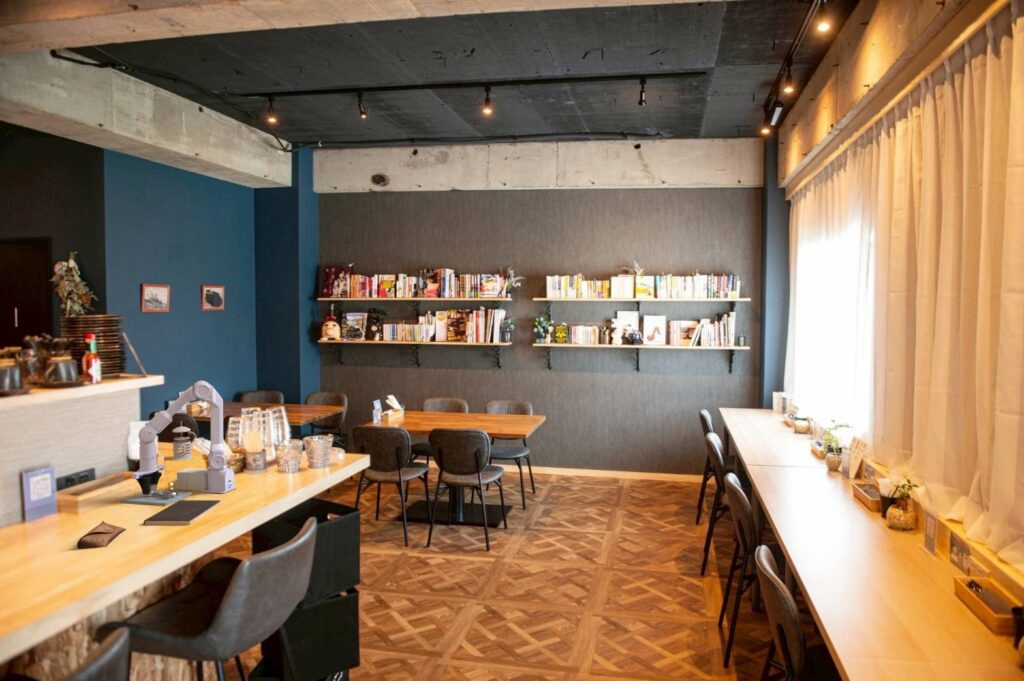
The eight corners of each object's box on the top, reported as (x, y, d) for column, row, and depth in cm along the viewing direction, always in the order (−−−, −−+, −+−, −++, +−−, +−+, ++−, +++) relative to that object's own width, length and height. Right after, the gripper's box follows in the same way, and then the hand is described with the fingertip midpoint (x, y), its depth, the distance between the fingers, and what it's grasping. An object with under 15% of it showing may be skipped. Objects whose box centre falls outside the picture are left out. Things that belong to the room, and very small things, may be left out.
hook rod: (178, 496, 265) (177, 485, 265) (172, 498, 262) (172, 487, 262) (148, 493, 268) (147, 483, 268) (142, 496, 265) (141, 485, 265)
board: (191, 495, 270) (191, 492, 270) (165, 505, 256) (165, 503, 256) (147, 492, 274) (147, 489, 274) (120, 502, 261) (119, 499, 261)
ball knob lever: (167, 490, 263) (167, 483, 262) (174, 485, 269) (173, 479, 269) (172, 490, 263) (171, 483, 263) (178, 485, 269) (178, 479, 269)
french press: (167, 458, 333) (165, 406, 332) (191, 454, 342) (189, 404, 341) (176, 461, 327) (174, 408, 326) (201, 457, 336) (199, 405, 334)
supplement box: (189, 484, 285) (216, 486, 283) (176, 489, 278) (204, 491, 275) (188, 467, 285) (216, 468, 282) (176, 471, 278) (204, 473, 275)
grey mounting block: (178, 495, 266) (178, 488, 266) (168, 499, 261) (168, 491, 261) (173, 495, 267) (173, 487, 267) (162, 499, 261) (162, 491, 261)
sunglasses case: (107, 547, 213) (94, 529, 212) (86, 560, 212) (73, 542, 211) (127, 528, 231) (115, 512, 230) (108, 540, 230) (96, 524, 229)
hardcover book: (220, 506, 257) (220, 500, 257) (190, 526, 234) (190, 519, 234) (178, 506, 258) (178, 500, 258) (143, 526, 235) (143, 519, 235)
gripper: (153, 453, 273) (154, 487, 274) (124, 461, 259) (126, 497, 260) (168, 454, 271) (169, 488, 272) (140, 462, 257) (142, 498, 258)
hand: (149, 493), depth 266 cm, fingers closed on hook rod, 3 cm apart
